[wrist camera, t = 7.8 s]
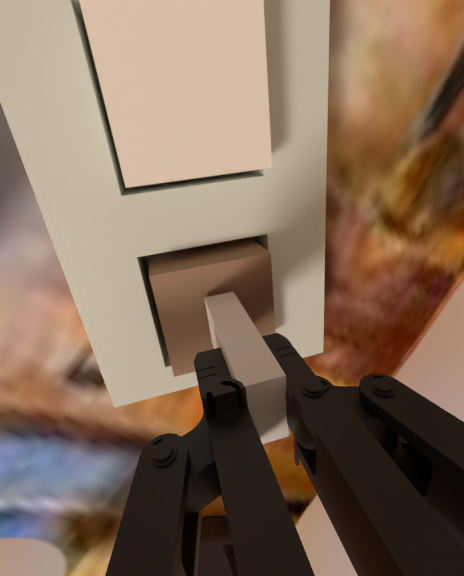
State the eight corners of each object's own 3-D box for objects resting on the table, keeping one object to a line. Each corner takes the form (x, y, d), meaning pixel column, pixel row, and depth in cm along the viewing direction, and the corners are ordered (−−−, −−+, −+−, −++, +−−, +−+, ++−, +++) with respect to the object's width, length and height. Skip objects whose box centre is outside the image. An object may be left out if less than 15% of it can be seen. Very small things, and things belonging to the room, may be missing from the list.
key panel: (292, 318, 25) (323, 352, 21) (121, 358, 23) (114, 407, 18) (271, -332, 12) (341, -611, 8) (-131, -405, 10) (-367, -879, 5)
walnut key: (255, 318, 21) (276, 350, 17) (169, 338, 20) (174, 377, 16) (247, 234, 19) (271, 252, 15) (149, 252, 17) (149, 276, 14)
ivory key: (244, 165, 16) (272, 167, 13) (131, 181, 15) (125, 187, 12) (232, 24, 14) (262, -23, 10) (95, 31, 13) (74, -20, 9)
